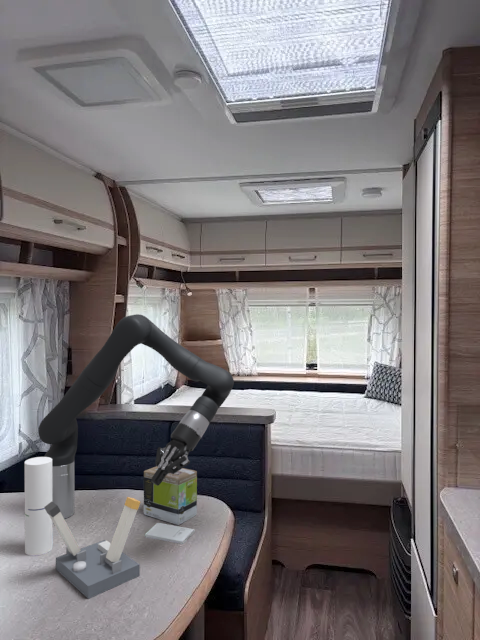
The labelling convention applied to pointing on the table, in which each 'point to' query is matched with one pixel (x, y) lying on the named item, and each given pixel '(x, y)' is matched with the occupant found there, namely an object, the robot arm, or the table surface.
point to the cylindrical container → (38, 506)
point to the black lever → (62, 528)
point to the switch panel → (96, 569)
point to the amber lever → (122, 530)
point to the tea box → (171, 496)
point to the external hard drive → (169, 533)
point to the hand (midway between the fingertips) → (154, 483)
